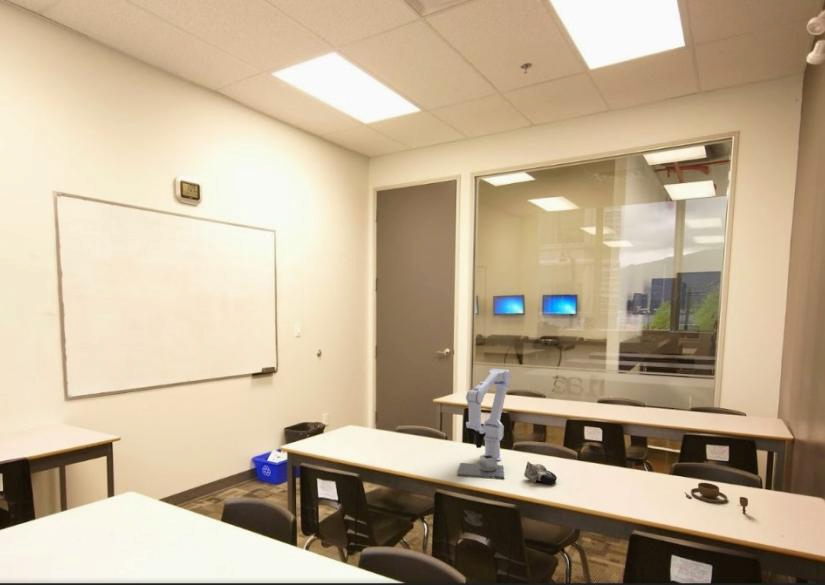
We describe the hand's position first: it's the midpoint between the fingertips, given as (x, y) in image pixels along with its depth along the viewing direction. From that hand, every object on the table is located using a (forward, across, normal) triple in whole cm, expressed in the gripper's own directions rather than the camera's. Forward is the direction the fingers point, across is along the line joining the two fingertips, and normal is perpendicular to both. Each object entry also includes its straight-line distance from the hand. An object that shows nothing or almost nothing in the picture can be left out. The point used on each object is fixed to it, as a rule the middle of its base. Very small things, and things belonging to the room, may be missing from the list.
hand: (475, 445), depth 208 cm
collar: (+8, +7, +3) cm, 12 cm away
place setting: (+11, +64, +68) cm, 95 cm away
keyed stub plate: (+10, +7, 0) cm, 12 cm away
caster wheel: (+10, +25, +19) cm, 33 cm away
